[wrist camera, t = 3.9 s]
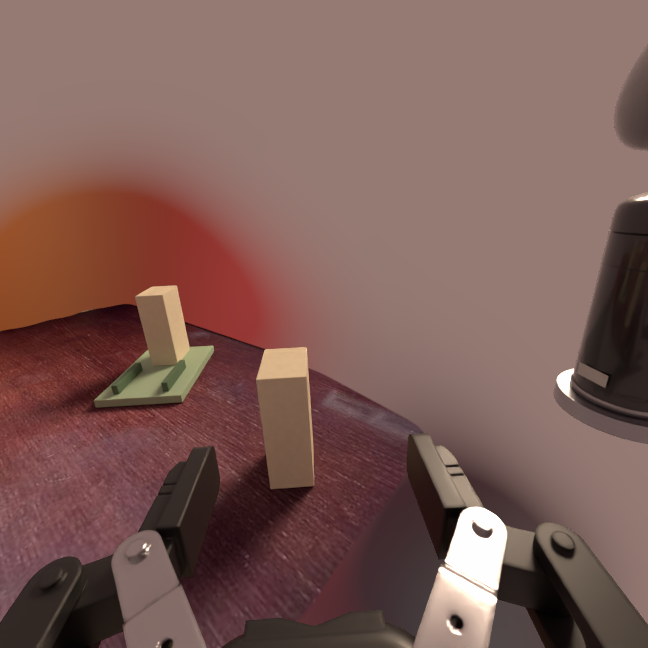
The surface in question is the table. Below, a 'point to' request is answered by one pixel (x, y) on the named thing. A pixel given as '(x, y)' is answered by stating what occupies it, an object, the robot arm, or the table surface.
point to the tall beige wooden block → (286, 417)
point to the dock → (154, 380)
